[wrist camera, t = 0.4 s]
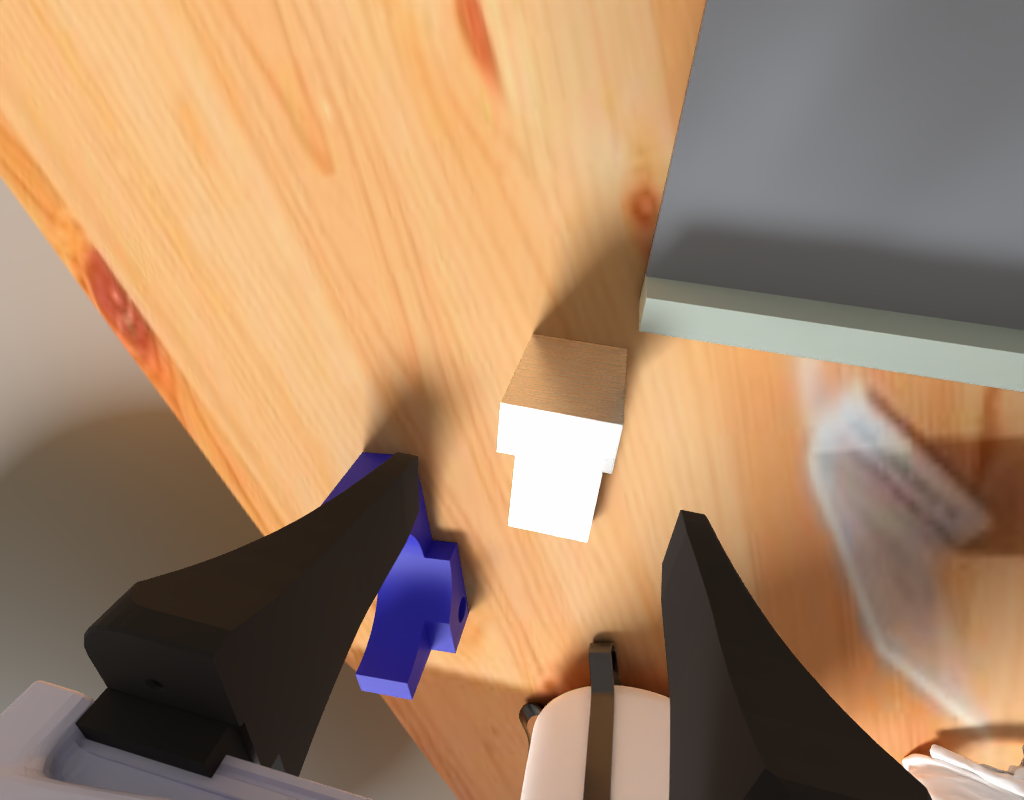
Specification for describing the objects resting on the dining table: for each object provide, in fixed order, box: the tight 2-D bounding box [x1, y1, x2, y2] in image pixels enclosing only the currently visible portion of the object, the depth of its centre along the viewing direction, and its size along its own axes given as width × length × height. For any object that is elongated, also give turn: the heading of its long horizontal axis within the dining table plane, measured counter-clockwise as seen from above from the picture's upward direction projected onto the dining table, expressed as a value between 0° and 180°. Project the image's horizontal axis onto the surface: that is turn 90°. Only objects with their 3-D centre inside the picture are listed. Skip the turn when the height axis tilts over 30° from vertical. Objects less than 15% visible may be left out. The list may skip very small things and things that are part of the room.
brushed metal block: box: [497, 334, 627, 542], centre depth 22 cm, size 10×4×6 cm, turn 176°
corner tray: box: [639, 0, 1024, 392], centre depth 13 cm, size 16×16×3 cm
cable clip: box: [321, 452, 469, 700], centre depth 27 cm, size 12×4×6 cm, turn 4°
